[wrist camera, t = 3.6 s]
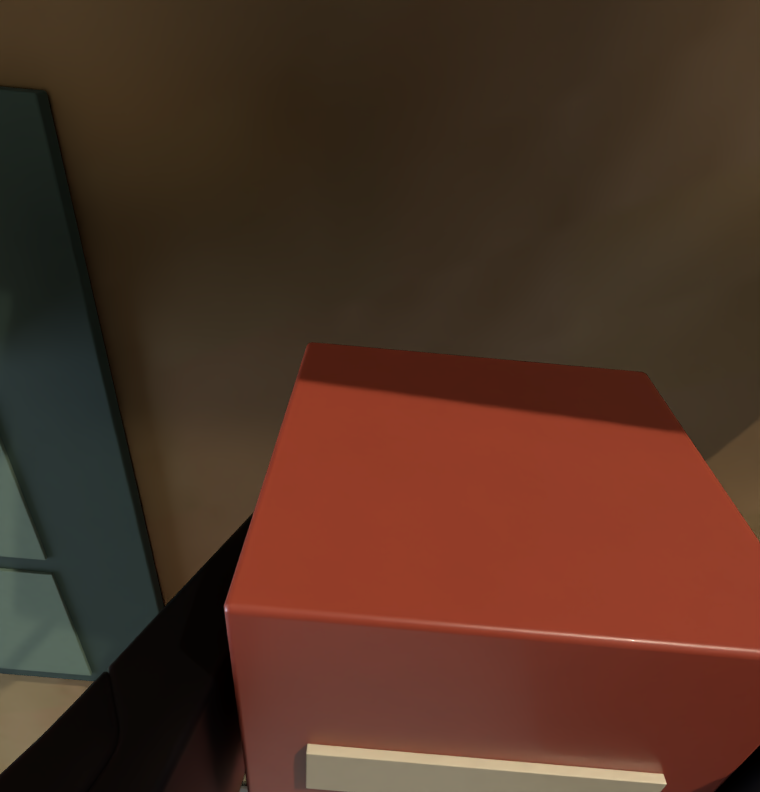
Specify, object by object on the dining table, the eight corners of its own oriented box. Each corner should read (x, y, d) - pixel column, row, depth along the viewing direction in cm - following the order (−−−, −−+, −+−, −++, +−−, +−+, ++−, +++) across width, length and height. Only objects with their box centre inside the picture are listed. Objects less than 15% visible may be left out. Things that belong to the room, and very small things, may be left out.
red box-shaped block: (558, 586, 11) (638, 887, 7) (306, 563, 11) (250, 855, 7) (646, 370, 8) (855, 674, 4) (307, 339, 8) (217, 620, 4)
